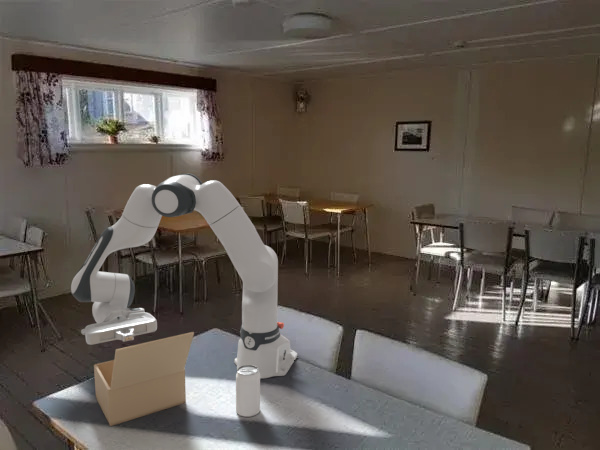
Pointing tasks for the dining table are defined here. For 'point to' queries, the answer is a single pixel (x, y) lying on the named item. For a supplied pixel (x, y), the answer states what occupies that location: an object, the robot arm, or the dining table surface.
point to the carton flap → (150, 360)
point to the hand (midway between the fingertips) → (128, 338)
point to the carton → (136, 395)
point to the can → (248, 391)
